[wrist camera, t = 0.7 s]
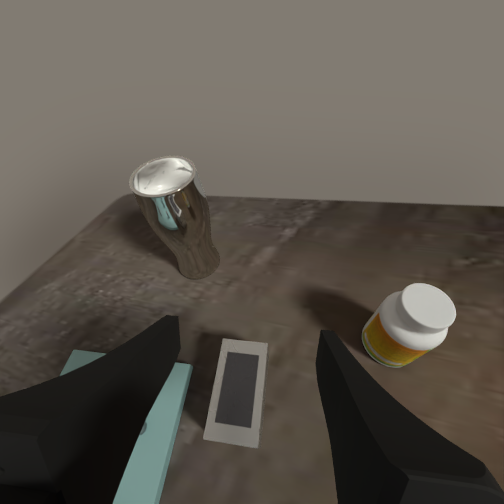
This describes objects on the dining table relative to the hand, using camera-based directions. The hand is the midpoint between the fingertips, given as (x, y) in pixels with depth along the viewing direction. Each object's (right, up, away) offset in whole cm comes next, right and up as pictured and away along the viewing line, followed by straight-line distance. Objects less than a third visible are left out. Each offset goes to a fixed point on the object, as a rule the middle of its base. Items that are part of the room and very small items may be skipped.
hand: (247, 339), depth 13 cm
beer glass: (-7, +3, +24) cm, 25 cm away
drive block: (-1, -10, +13) cm, 17 cm away
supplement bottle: (+15, -6, +16) cm, 22 cm away
